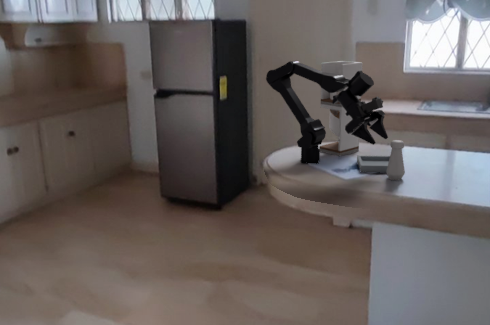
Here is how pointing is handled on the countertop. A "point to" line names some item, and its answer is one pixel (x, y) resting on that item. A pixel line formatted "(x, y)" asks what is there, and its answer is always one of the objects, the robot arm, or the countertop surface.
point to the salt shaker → (396, 161)
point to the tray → (373, 163)
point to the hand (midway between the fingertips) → (380, 141)
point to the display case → (339, 110)
